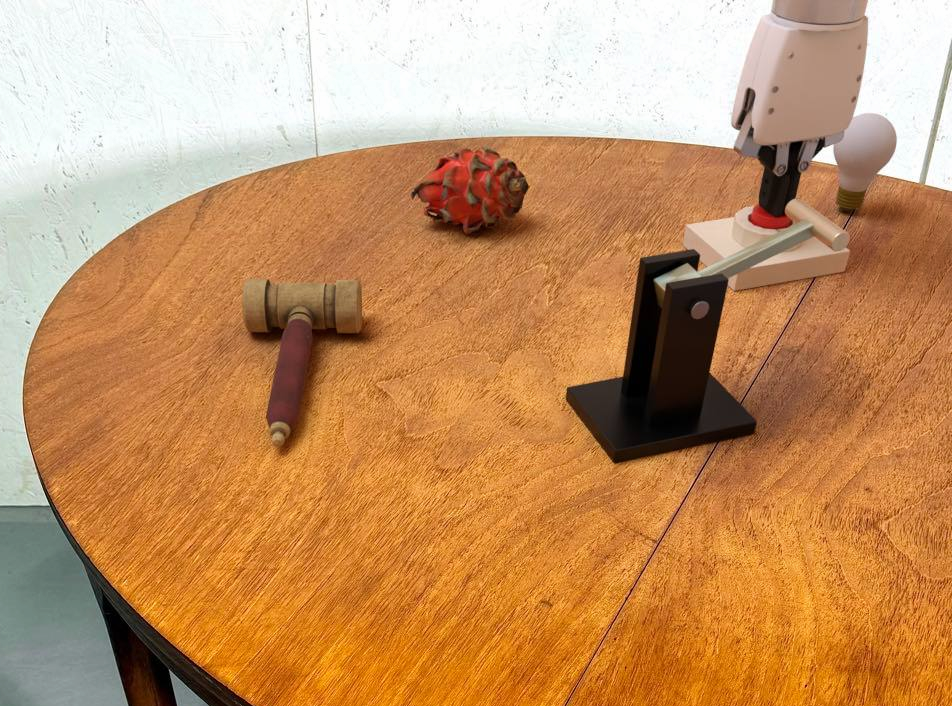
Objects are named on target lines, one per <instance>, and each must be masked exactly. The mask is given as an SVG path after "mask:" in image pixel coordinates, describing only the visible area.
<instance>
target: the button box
mask: <svg viewBox="0 0 952 706" xmlns="http://www.w3.org/2000/svg"><path fill="white" fill-rule="evenodd" d="M754 206H755V205H749V206H744V207H743V208H741V209H739V210H738V211H736V212H735V214H734V216H731V217H725V218H720V219H713V220H706V221H701V222H695V223H693V222H692V223H688V224H685V227H684V234H683V239H682V246H683V247H684V248H685V249H686V250H691V249H695V250H696V251H697V252H698V253H699V254H700V260H699V262H701V263H702V264H703V265H704V266H705V267H708V266H710V265H712V264H714V263H716V262H718V261H720V260H722V259H724V258H726V257H728V256H731V255H733V254H735V253H737V252H739V251H741V250H743V249H745V248H747V247H749V246H751V245H753V244H755V243H757V242H759V241H761V240H763V239H765V238H767V237H769V236H772V235H774V234H776V233H778V232H780V231H782V230H784V229H778V230H775V229H764V228H761V227H758V226H755V225H753V224H752V223H751V222H750V220H751V215H752V211H753V207H754ZM794 224H796V222H794V221H793V220H792V219H791V220H790V224H789V227H790V226H792V225H794ZM785 229H786V228H785ZM850 253H851V250H850V249H849V248H847V246H846V247H845V248H844V249H843V250H841V251H833V250H832V249H831V248H829V247H828V246H827V245H825V244H824V243H823V242H821V241H820V240H819V239H817V238H816V237H815V236H814V237H812V238H810V239H808V240H806V241H804V242H801V243H799V244H797V245H795V246H793V247H791V248H789V249H787V250H785V251H783V252H781V253H779V254H777V255H775V256H773V257H771V258H769V259H767V260H765V261H763V262H760V263H758V264H756V265H754V266H752V267H750V268H748V269H746V270H744V271H742V272H740V273H738V274H736V275H734V276H732V277H730V278H728V279H729V281H728V286H727V287H729V288H730V289H731V290H732V291H733V292H737V291H743V290H748V289H754V288H759V287H766V286H772V285H777V284H783V283H789V282H793V281H794V282H795V281H800V280H804V279H805V280H807V279H810V278H811V279H812V278H816V277H817V278H818V277H821V276H828V275H833V274H839V273H840V274H841V273H844V272H845V271H846V267H847V264H848V261H849V258H850Z"/></svg>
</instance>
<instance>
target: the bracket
mask: <svg viewBox="0 0 952 706" xmlns="http://www.w3.org/2000/svg"><path fill="white" fill-rule="evenodd" d="M686 263H688V264H689V265H690V266H691V267H693V268H694V269H695V270H696V271H697V272H698V271H699V265H700V254H699V253H698V252H697V251H696V250H695V249H691V250H687V249H686V250H679V251H672V252H668V253H666V252H665V253H662V254H654V255H647V256H643V257H640V258H639V264H638V269H637V276H636V284H635V291H634V297H633V304H632V312H631V318H630V325H629V332H628V339H627V346H626V353H625V358H624V359H625V361H624V367H623V374H622V376H619V377H618V376H617V377H614V378H608V379H603V380H598V381H593V382H592V381H591V382H588V383H582V384H576V385H572V386H567V387H566V392H565V400H566V402H567V403H568V405H570V407H571V408H572V409H573V411H574V412H575V414H576V415H577V416H578V418H579V419H580V420H581V422H582V423H583V424H584V426H585V427H586V428H587V429H588V431H589V432H590V433H591V435H592V436H593V438H594V439H595V440H596V441H597V443H598V444H599V445H600V447H601V448H602V450H604V452H605V453H606V454H607V456H608V457H609V458H610V460H611V461H612V462H613V463H614V464H615V463H620V462H626V461H631V460H635V459H639V458H640V459H641V458H644V457H650V456H655V455H659V454H662V453H663V454H664V453H669V452H673V451H677V450H682V449H688V448H693V447H697V446H702V445H707V444H711V443H715V442H721V441H725V440H731V439H735V438H739V437H740V438H741V437H745V436H748V435H754V434H755V432H756V428H757V424H758V420H756V418H755V417H754V416H753V415H752V414H751V413H750V412H749V411H748V410H747V409H746V408H745V407H744V406H743V405H742V404H741V403H740V402H739V401H738V400H737V399H736V398H735V397H734V396H733V395H732V393H730V391H729V390H728V389H727V388H725V387H724V385H722V383H721V382H720V381H719V380H718V379H717V378H716V377H715V376H714V375H713V374H712V373H711V368H712V367H711V366H712V363H713V357H714V353H715V348H716V343H717V339H718V333H719V329H720V324H721V319H722V315H723V314H722V313H723V310H724V305H725V300H726V295H727V290H728V287H729V286H728V281H729V279H727V278H726V277H725V276H724V275H723V274H716V275H710V276H704V277H698V278H692V279H686V280H681V281H675V282H669V283H666V288H665V294H664V300H663V306H662V309H661V308H660V306H659V305H658V301H657V296H656V291H655V286H654V281H653V280H654V279H655V278H657V277H659V276H661V275H664V274H666V273H668V272H670V271H672V270H674V269H676V268H678V267H680V266H682V265H684V264H686Z"/></svg>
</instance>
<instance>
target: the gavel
mask: <svg viewBox="0 0 952 706" xmlns="http://www.w3.org/2000/svg"><path fill="white" fill-rule="evenodd" d="M241 303H242V305H241V307H242V318H243V324H244V327H245V329H246V330H247V332H248V333H270V332H271V330H272V328H280V329H281V330H284V331H283V332H282V336H281V340H280V346H279V350H278V355H277V360H276V366H275V370H274V374H273V380H272V384H271V389H270V394H269V399H268V403H267V409H266V413H265V419H266V422H267V425H268V428H269V435H270V436H271V444H272V445H273V446H274V447H277V448H279V447H282V446H283V445H284V444H285V441H286V439H288V438H289V437H290V435H291V433H292V431H293V430H294V429H295V428H296V427H297V425H298V423H299V420H300V415H301V408H302V403H303V397H304V392H305V391H304V390H305V385H306V380H307V374H308V368H309V361H310V356H311V349H312V344H313V333H312V332H313V331H312V330H327V329H328V328H336V333H338V334H359V333H360V332H361V329H362V324H363V323H362V321H363V294H362V284H361V281H360V280H359V279H337V280H336V284H327V283H326V282H280V283H279V284H271V281H270V279H269V278H248V279H246V280H245V282H244V283H243V287H242V300H241Z"/></svg>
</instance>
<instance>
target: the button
mask: <svg viewBox="0 0 952 706" xmlns="http://www.w3.org/2000/svg"><path fill="white" fill-rule="evenodd" d="M753 206H754V207H753V211H752V215H751V220H750V222H751V223H752V224H753V225H755V226H758V227H761V228H764V229H775V230H778V229H785V228H788V227H789V224H790V220H791V219H790V218H789V217H788V216H786V215H783V214H781V216H777V217H774V216H772V215H771V214H770V213H768V212H767V211H766V210H764V209H763V208H762V207H760V206H759V203H757V204H756V205H753Z"/></svg>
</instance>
